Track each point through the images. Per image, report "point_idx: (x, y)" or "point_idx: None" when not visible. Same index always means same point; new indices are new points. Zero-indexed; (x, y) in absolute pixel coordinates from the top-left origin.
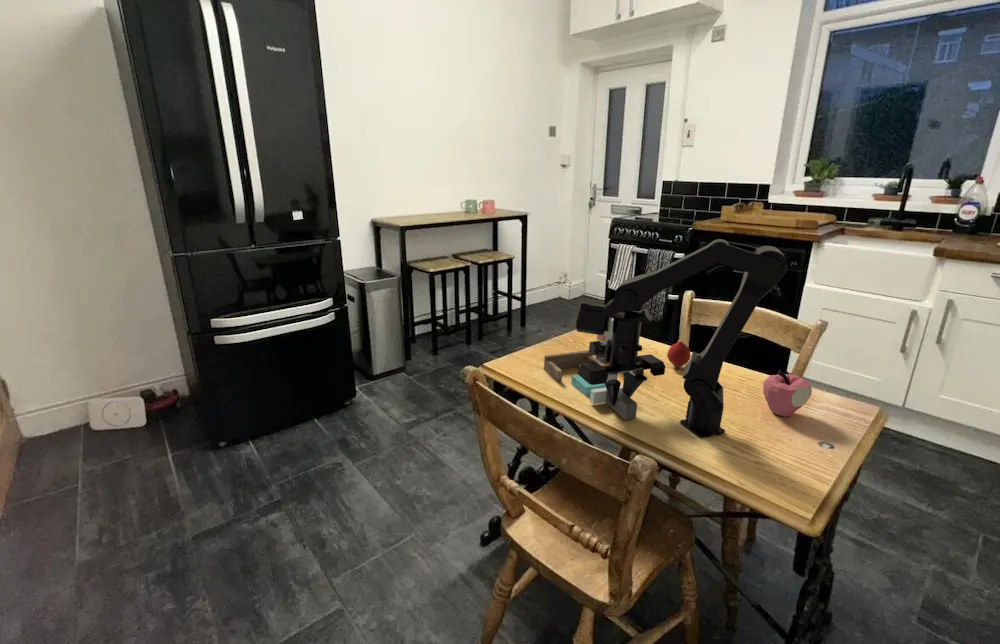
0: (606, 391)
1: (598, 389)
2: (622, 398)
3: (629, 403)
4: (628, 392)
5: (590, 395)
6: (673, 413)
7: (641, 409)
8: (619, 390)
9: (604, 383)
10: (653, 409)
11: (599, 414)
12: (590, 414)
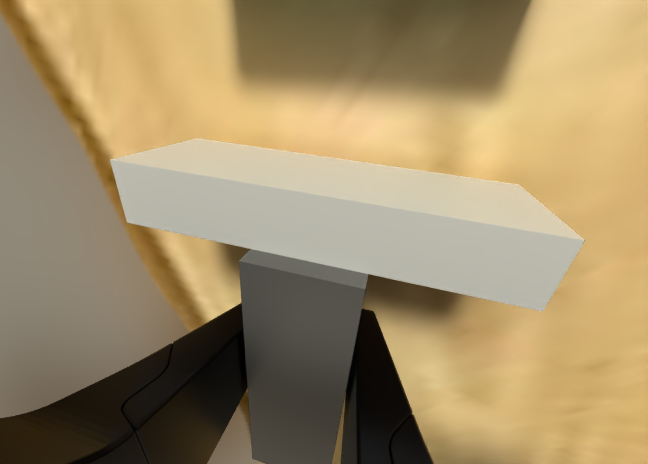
0: (254, 243)
1: (183, 192)
2: (274, 417)
3: (279, 461)
4: (342, 452)
5: (161, 148)
6: (605, 445)
7: (476, 339)
8: (338, 346)
9: (69, 402)
10: (547, 373)
11: (215, 260)
12: (172, 239)
